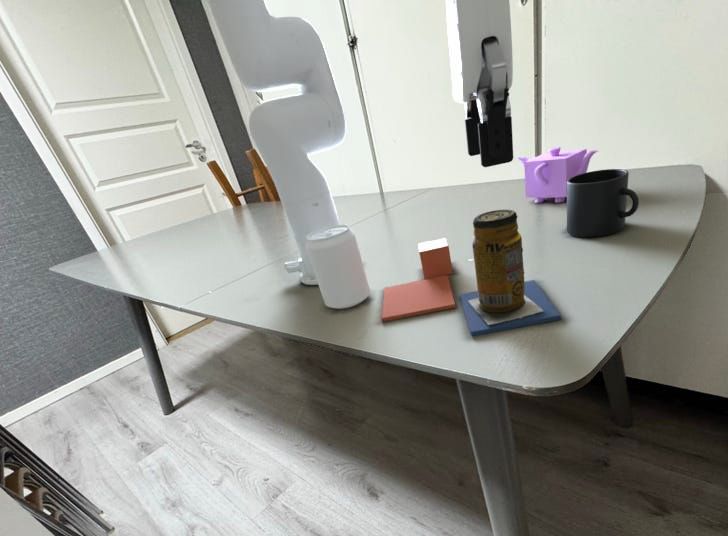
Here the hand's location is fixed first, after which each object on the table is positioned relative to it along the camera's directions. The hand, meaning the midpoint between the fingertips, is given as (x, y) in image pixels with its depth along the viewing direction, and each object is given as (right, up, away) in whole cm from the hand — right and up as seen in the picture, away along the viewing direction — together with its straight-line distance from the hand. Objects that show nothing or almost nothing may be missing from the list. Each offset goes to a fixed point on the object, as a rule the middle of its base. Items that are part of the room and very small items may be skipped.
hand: (488, 158), depth 46 cm
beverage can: (-19, -13, +24) cm, 33 cm away
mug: (+26, 0, +26) cm, 37 cm away
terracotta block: (-3, -7, +26) cm, 28 cm away
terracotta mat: (-7, -13, +18) cm, 24 cm away
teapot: (+27, +16, +51) cm, 60 cm away
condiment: (+4, -16, +9) cm, 18 cm away
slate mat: (+4, -16, +9) cm, 19 cm away
